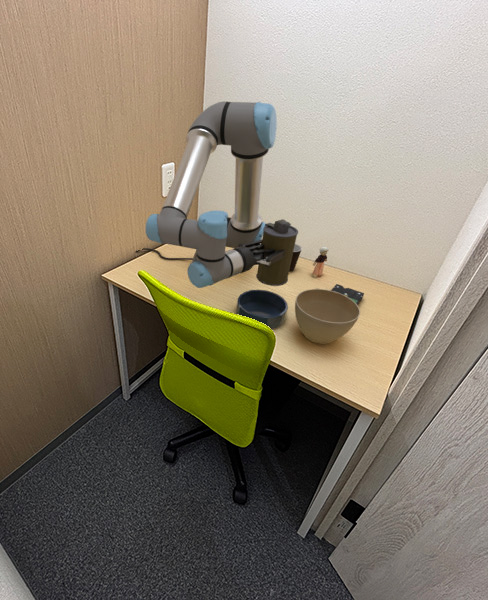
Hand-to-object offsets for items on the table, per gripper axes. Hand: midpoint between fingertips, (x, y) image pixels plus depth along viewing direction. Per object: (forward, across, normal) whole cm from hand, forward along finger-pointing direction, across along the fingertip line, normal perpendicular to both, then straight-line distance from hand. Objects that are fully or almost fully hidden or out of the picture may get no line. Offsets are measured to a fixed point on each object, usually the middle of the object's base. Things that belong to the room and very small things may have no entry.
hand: (289, 242), depth 109 cm
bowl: (-10, +2, -24) cm, 26 cm away
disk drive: (+20, +14, -24) cm, 34 cm away
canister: (-6, 0, -12) cm, 13 cm away
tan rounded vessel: (-3, +20, -24) cm, 31 cm away
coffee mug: (+24, -16, -24) cm, 38 cm away
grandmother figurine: (+29, -4, -24) cm, 38 cm away
